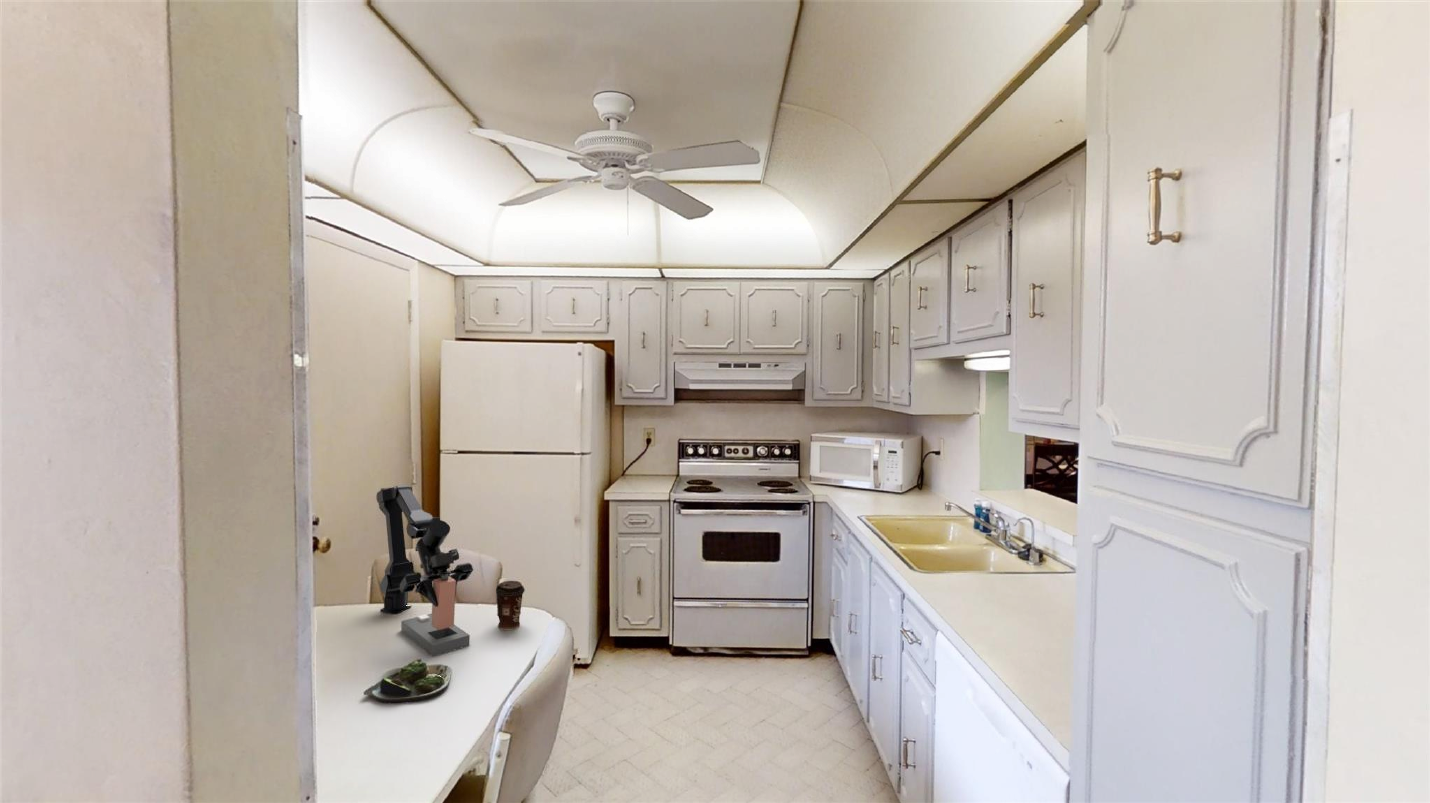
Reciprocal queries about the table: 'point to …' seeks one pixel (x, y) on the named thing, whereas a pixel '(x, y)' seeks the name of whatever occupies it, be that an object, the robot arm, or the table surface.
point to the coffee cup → (509, 604)
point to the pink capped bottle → (444, 602)
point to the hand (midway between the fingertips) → (445, 603)
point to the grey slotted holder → (434, 635)
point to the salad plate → (411, 683)
